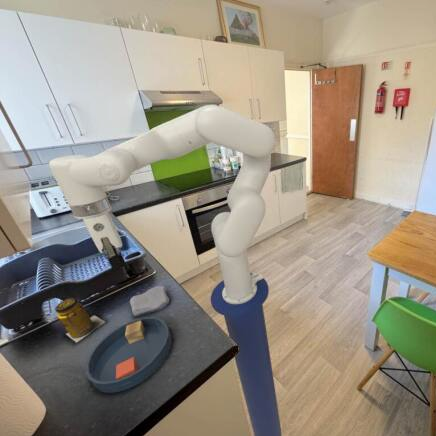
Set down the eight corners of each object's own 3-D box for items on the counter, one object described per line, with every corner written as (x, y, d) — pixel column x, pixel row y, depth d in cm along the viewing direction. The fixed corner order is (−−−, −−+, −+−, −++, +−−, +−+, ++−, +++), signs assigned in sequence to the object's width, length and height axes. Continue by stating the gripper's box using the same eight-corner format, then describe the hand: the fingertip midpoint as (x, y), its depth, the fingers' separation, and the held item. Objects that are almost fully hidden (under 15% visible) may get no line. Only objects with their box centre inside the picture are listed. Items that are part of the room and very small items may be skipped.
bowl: (163, 315, 82) (159, 307, 80) (180, 358, 68) (176, 349, 66) (91, 351, 71) (85, 343, 69) (93, 411, 57) (86, 402, 55)
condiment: (65, 334, 77) (47, 307, 72) (94, 315, 84) (79, 289, 79) (76, 343, 74) (58, 315, 69) (105, 322, 81) (90, 296, 76)
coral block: (138, 365, 66) (133, 356, 64) (139, 378, 63) (134, 369, 61) (121, 374, 64) (116, 365, 62) (121, 387, 61) (115, 378, 59)
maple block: (145, 328, 77) (141, 320, 75) (144, 338, 74) (140, 329, 72) (131, 334, 76) (126, 325, 74) (129, 344, 72) (124, 335, 71)
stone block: (172, 307, 88) (165, 289, 94) (169, 299, 85) (161, 281, 91) (136, 325, 82) (131, 304, 88) (131, 318, 79) (126, 296, 85)
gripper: (112, 211, 55) (138, 273, 64) (107, 195, 66) (130, 250, 74) (71, 221, 51) (105, 286, 60) (72, 203, 62) (101, 260, 70)
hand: (119, 266), depth 67 cm, fingers closed
